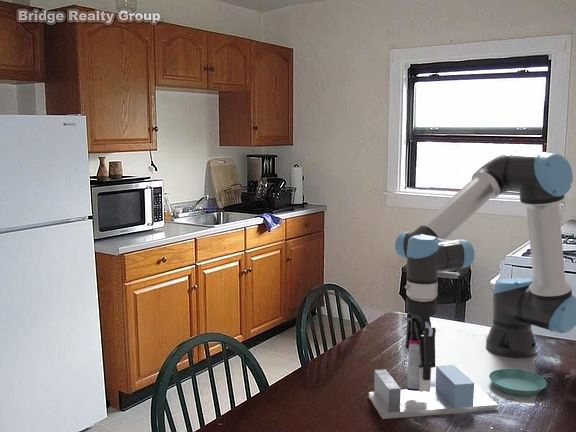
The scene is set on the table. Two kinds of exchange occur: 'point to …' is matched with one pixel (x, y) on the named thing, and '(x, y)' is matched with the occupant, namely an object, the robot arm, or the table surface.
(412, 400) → the base
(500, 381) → the saucer
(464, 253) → the robot arm
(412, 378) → the supplement box
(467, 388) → the block
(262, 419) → the table surface
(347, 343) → the table surface
